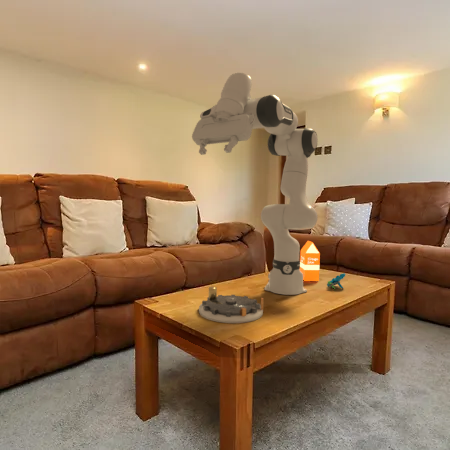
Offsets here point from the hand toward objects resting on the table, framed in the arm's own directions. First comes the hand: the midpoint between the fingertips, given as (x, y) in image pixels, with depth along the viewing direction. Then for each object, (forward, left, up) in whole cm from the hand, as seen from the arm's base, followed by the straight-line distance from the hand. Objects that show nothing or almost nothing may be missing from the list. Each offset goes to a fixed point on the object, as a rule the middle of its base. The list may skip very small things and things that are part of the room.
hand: (214, 152), depth 99 cm
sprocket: (-17, +5, -53) cm, 55 cm away
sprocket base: (-17, +5, -54) cm, 57 cm away
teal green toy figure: (-59, +51, -55) cm, 95 cm away
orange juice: (-74, +41, -55) cm, 101 cm away
